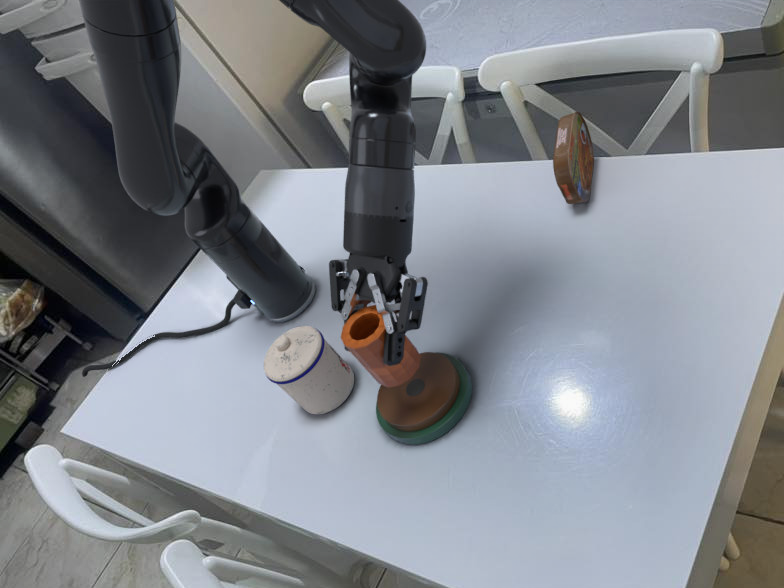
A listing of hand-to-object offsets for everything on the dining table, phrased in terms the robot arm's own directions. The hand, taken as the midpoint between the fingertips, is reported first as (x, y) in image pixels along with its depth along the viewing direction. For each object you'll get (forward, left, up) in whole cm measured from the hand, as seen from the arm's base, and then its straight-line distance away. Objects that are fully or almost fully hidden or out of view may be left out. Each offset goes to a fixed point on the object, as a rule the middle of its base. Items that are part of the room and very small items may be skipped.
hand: (372, 356), depth 81 cm
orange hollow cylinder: (0, +2, -4) cm, 5 cm away
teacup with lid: (-18, +3, -12) cm, 22 cm away
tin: (+12, +41, -12) cm, 44 cm away
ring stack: (0, +2, -12) cm, 12 cm away
